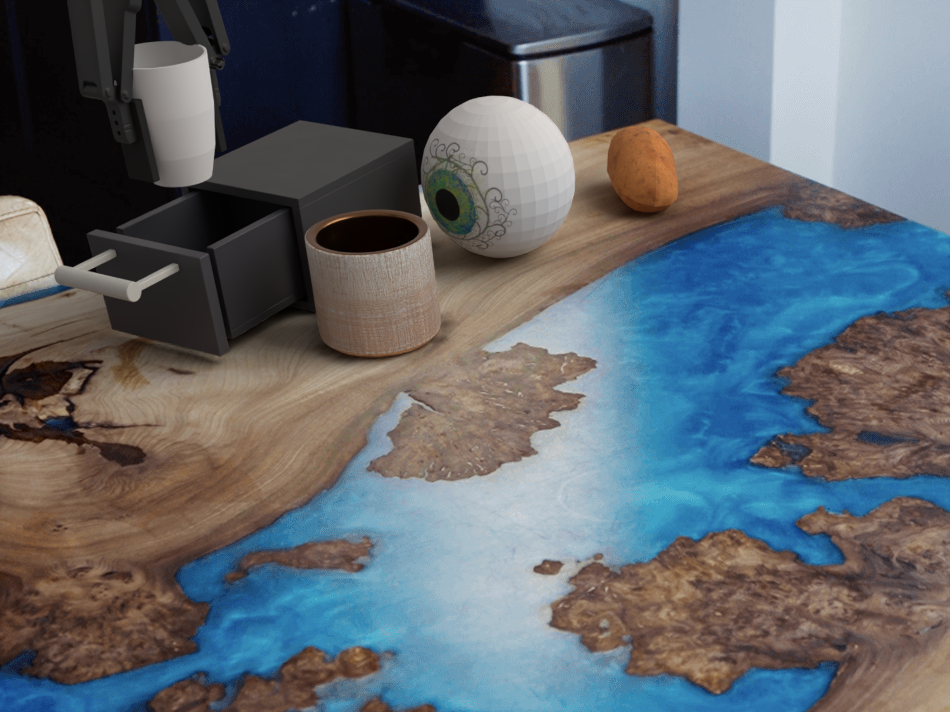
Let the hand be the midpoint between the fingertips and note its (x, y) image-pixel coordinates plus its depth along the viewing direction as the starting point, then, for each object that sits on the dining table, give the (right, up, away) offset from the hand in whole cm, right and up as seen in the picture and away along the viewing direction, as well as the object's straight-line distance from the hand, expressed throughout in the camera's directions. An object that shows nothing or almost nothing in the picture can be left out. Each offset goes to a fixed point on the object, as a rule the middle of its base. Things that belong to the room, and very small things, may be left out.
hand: (179, 163), depth 120 cm
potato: (+39, +7, +33) cm, 52 cm away
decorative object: (+25, -1, +22) cm, 34 cm away
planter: (+16, -13, +7) cm, 22 cm away
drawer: (0, -12, +8) cm, 14 cm away
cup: (0, -1, +1) cm, 1 cm away
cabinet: (+7, -3, +20) cm, 21 cm away
